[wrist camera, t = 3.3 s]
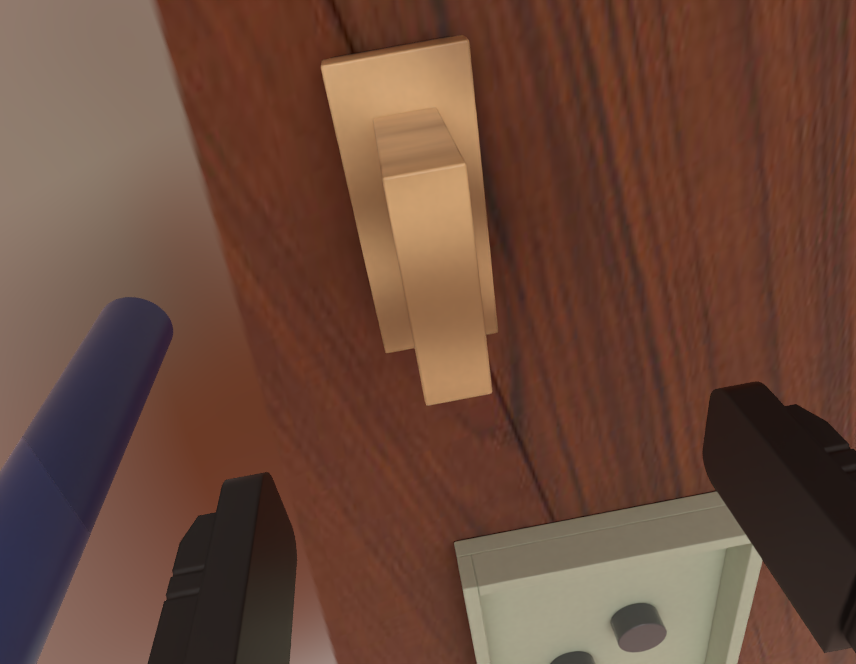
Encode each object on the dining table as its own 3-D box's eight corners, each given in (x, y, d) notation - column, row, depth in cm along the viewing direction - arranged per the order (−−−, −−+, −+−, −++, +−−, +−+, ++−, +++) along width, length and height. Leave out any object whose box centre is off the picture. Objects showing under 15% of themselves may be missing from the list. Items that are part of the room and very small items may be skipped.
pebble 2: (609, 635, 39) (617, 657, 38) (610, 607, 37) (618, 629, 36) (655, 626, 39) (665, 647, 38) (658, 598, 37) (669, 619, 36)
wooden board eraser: (485, 300, 26) (535, 429, 19) (382, 319, 26) (395, 456, 19) (456, 27, 20) (512, 76, 13) (322, 51, 20) (312, 112, 13)
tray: (489, 730, 46) (498, 776, 44) (453, 541, 34) (462, 590, 31) (700, 688, 46) (720, 732, 44) (739, 486, 34) (770, 530, 32)
